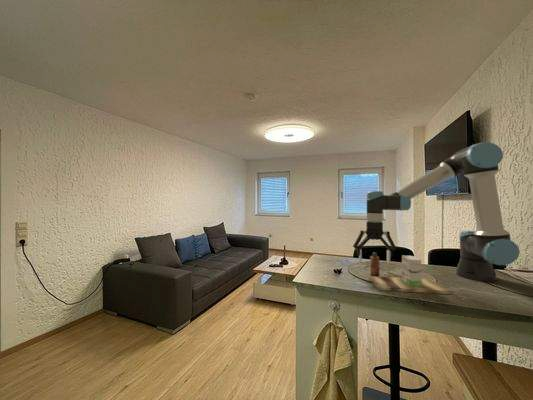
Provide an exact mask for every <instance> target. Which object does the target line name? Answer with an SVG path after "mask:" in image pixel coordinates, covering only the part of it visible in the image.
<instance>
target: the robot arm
mask: <svg viewBox="0 0 533 400" xmlns="http://www.w3.org/2000/svg"><path fill="white" fill-rule="evenodd" d="M503 152H504V151H503V150H502V149H501V147H500V146H498V145H497V144H495V143H493V142H489V141H488V142H487V141H483V142H478V143H475V144H473V143H472V145H470V146H468V147H464V148H462V149H460V150H458V151H457V152H455V153H454V154H452V155H451V156H450V157H448V158H447V159H445V160H444V161H441V162H440V163H439V165H438V166H437V167H435V168H434V169H432V170H430V171H428V172H426V173H425V174H423V175H421V176H420V177H418V178H416V179H415V180H412V181H411V182H410V183H408V184H406V185H404V186H402V187H401V188H399V189H397V190H396V191H394V192H393V193H390V194H387V195H386V194H384V192H383V191H380V190H379V191H378V190H376V191H375V190H374V191H373V190H371V191H368V192H367V193H366V230H362V229H360V230H359V235H358V236H357V238H356V239H355V242H354V244H353V246H352V247H353V248H354V249H356V255H357V256H358V263H360V264H361V263H362V258H363V253H362V252H363V250H362V248H363V247H364V246H365V244H366V243H368V242H369V240H372V241H373V240H376V241H379V240H380V242H382V244H383V245H384V246H385V247H386V248H387V249H386V263H387V264H388V265H391V258H393V252H394V251H397V246H396V245H395V243H394V241H393V238H392V237H391V234H390V233H391V232H390V231H388V230H384V227H383V226H384V222H383V221H384V216H383V215H384V211H409V210H410V209H411V206H412V199H413V198H415V197H417V196H419V195H421V194H423V193H425V192H427V191H428V190H430V189H431V188H433V187H435V186H437V185H439V184H441V183H443V182H444V181H446V180H448V179H454V178H456V177H457V176H459V175H462V174H463V176H464V177H466V178H467V179H468V181H469V187H470V193H471V194H470V195H471V199H472V205H473V211H474V217H475V223H476V228H477V229H476V230H463V231H460V234H459V254H460V255H459V256H460V257H459V262H458V263H457V267H456V268H455V274H456V275H457V276H459V277H462V278H466V279H469V280H475V281H478V282H479V281H480V282H496V281H497V278H498V276H497V274H496V271H495V268H494V265H496V266H507V265H511V264H513V263H514V262H515V261H517V260H518V258H519V256H520V248H519V246H518V244H516V243H515V242H514V241H513V240H511V234H510V231H508V230H507V229H505V228H504V222H503V216H502V211H501V210H502V209H501V205H500V200H499V199H500V198H499V193H498V188H497V180H496V174H497V173H498V172H499V171H500V170H499V169H500V168H499V164H500V163H501V161H502V160H503V157H504V153H503ZM365 234H366V236H365ZM383 235H384V236H385V237H386V239H387V240H388V242H387V241H386V240H385V239H384V238H383ZM364 236H365V237H364ZM363 237H364V239H363V240H362V238H363Z"/></svg>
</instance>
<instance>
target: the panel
mask: <svg viewBox="0 0 533 400" xmlns="http://www.w3.org/2000/svg"><path fill="white" fill-rule="evenodd" d="M368 279H369V281H370V282H372V284H373V286H375V288H376V289H377V290H378V291H390V292H392V291H393V292H409V293H410V292H413V293H427V294H428V293H429V294H446V295H447V294H448V295H451V290H450V289H448V288H446V287H445V286H444V285H442V284H440V283H439V282H437V281H435V280H433V279H432V278H422V287H414V286H409V285H408V284H407V283H405V282H404V281H403V280H402V277H394V276H393V277H392V276H379V277H376V276H371V275H369V276H368Z"/></svg>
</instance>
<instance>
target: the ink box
mask: <svg viewBox="0 0 533 400" xmlns="http://www.w3.org/2000/svg"><path fill="white" fill-rule="evenodd" d="M422 277H423V276H422V260H421V259H419V258H417V257H415V256H413V255H404V254H402V255H401V278H402V280H403V281H404V282H405V283H407V284H408V285H409V286H414V287H422V279H423V278H422Z"/></svg>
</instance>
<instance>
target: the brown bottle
mask: <svg viewBox="0 0 533 400" xmlns="http://www.w3.org/2000/svg"><path fill="white" fill-rule="evenodd" d="M369 258H370V276H376V277H380V257H379V256H378V254H377V252H372V255H370V256H369Z"/></svg>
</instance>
